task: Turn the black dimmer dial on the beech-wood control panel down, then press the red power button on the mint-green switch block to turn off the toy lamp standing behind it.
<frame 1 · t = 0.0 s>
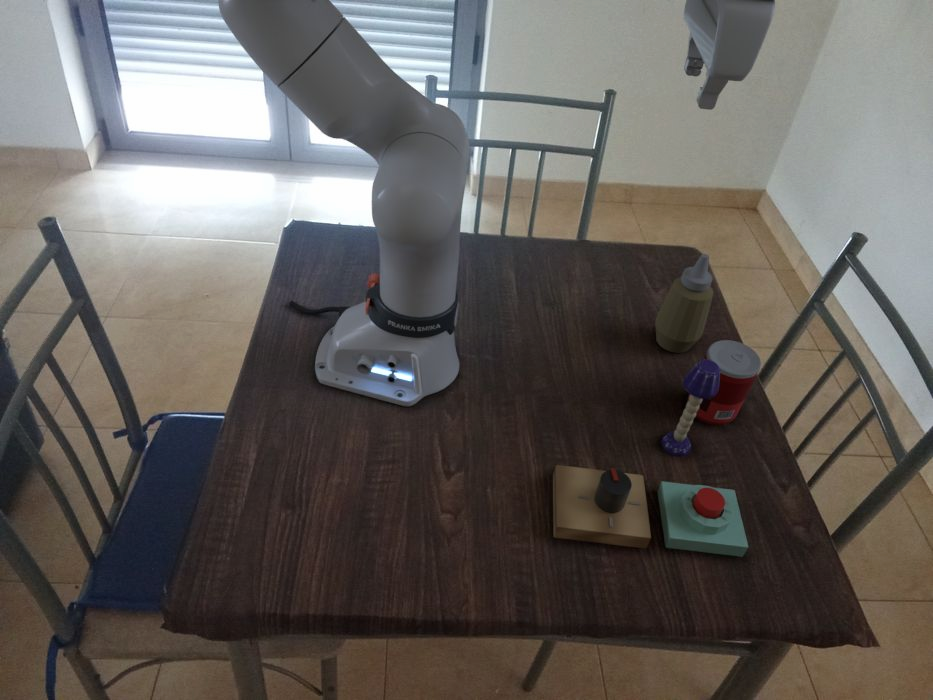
hand: (697, 89, 81), 48 cm above the table, tool pointing down, fingers open, 8 cm apart
dimmer knob: (613, 490, 92), point 5 cm above the table, hinge at 100.0°
squeeze bottle: (672, 343, 122), on the table
power button: (708, 502, 92), point 5 cm above the table, slide at 0.2 cm
canned food: (710, 409, 111), on the table
switch block: (698, 523, 95), on the table
dimmer panel: (597, 511, 95), on the table
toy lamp: (673, 447, 105), on the table
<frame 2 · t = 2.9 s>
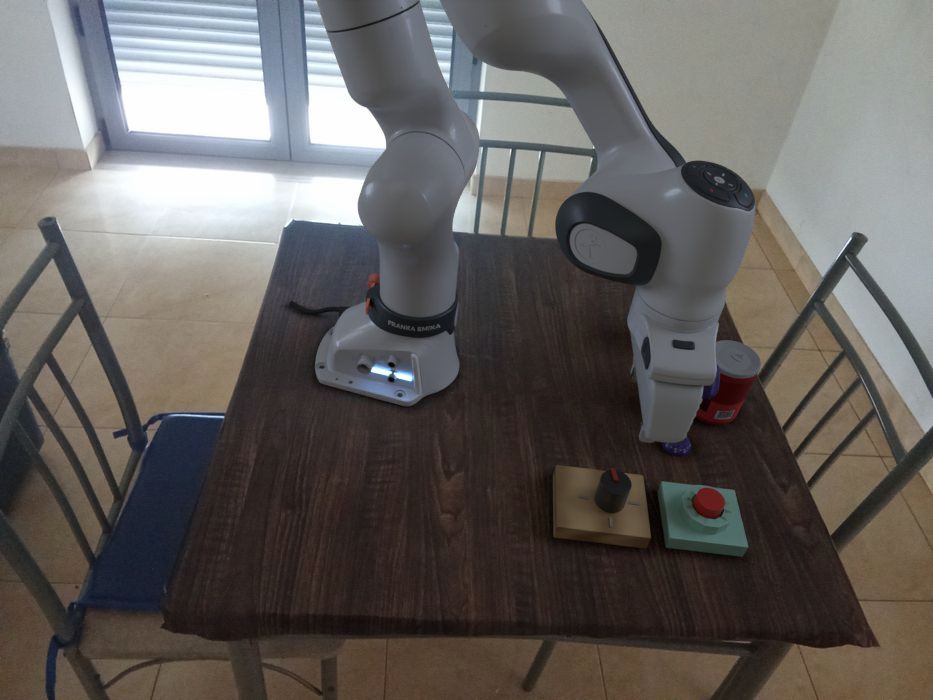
hand: (641, 407, 83), 19 cm above the table, tool pointing down, fingers open, 8 cm apart
nothing on the table moved.
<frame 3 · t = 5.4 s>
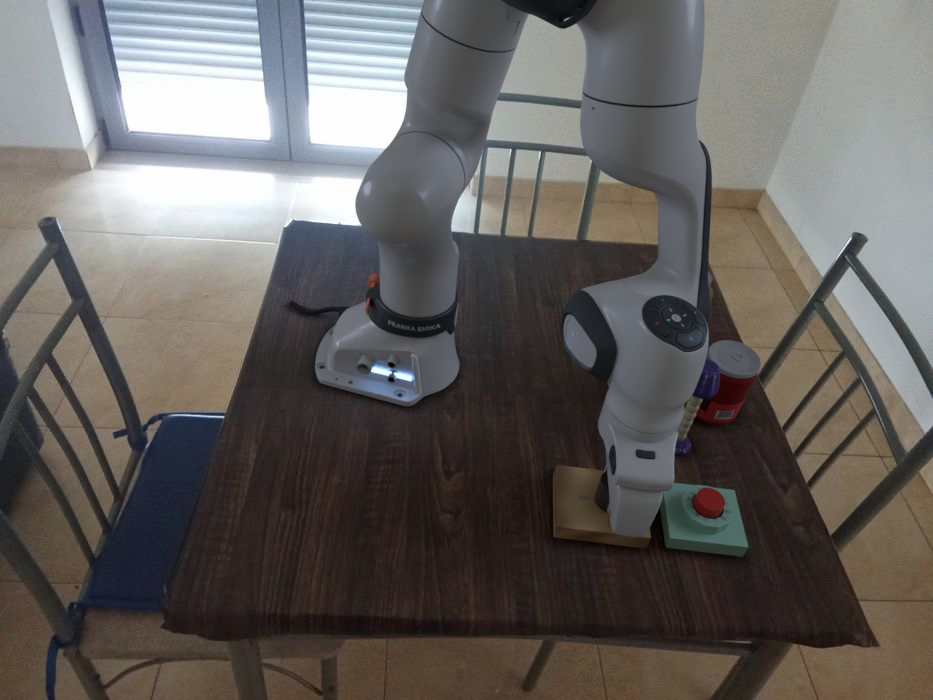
hand: (612, 493, 92), 4 cm above the table, tool pointing down, fingers closed on dimmer knob, 4 cm apart
dimmer knob: (613, 490, 92), point 5 cm above the table, hinge at 99.8°, touching gripper
everything else where it was.
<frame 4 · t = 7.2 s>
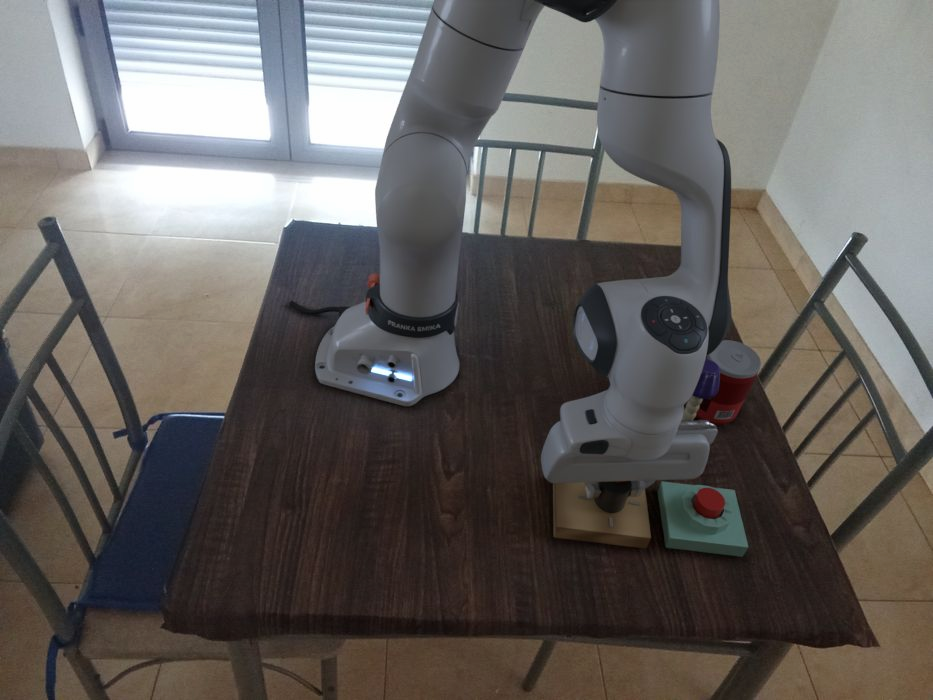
hand: (611, 493, 92), 4 cm above the table, tool pointing down, fingers closed on dimmer knob, 4 cm apart
dimmer knob: (613, 490, 92), point 5 cm above the table, hinge at 22.9°, touching gripper
everything else where it was.
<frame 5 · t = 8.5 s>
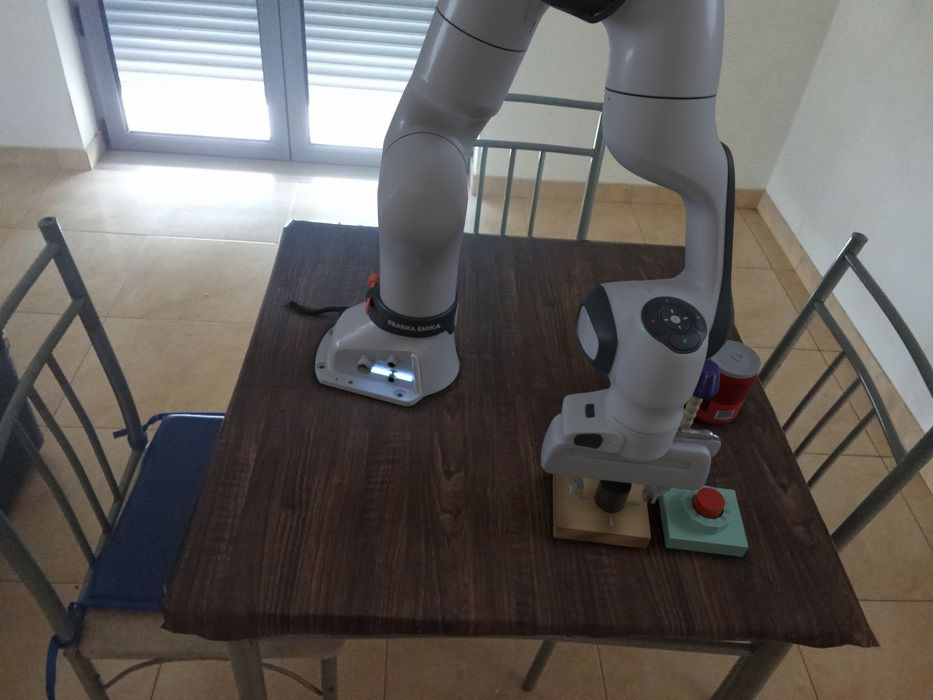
hand: (611, 494, 92), 4 cm above the table, tool pointing down, fingers open, 8 cm apart
dimmer knob: (613, 490, 92), point 5 cm above the table, hinge at 10.9°
everything else where it was.
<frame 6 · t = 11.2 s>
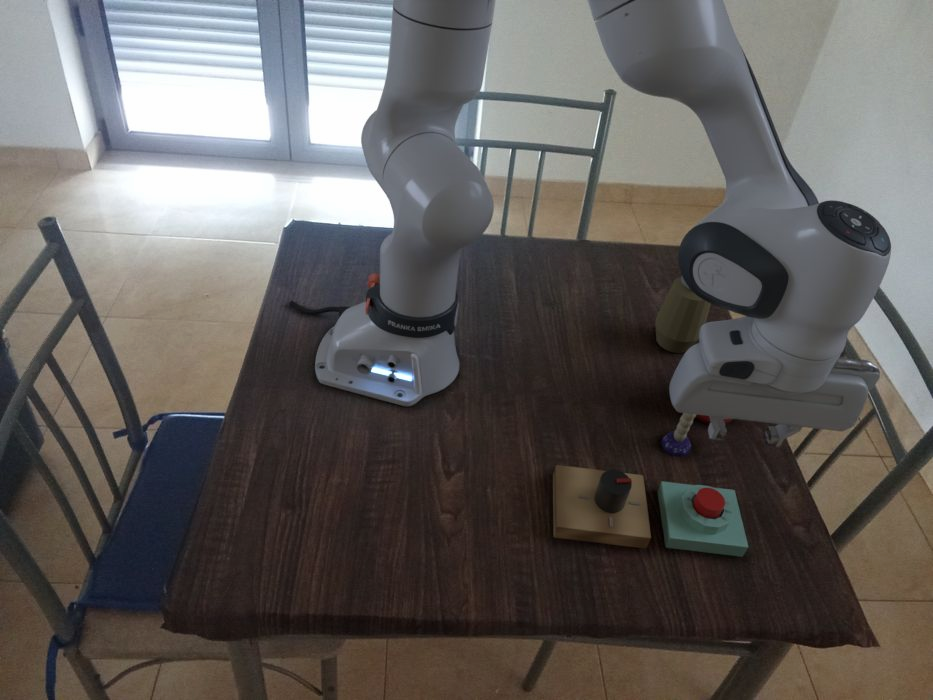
hand: (742, 439, 83), 17 cm above the table, tool pointing down, fingers open, 5 cm apart
nothing on the table moved.
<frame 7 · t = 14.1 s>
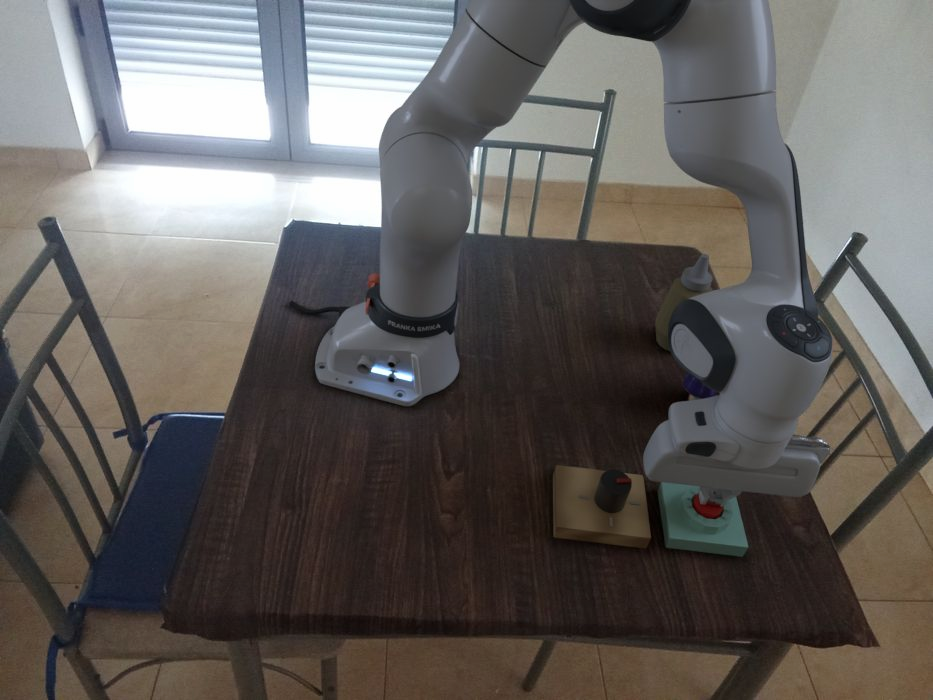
hand: (710, 501, 92), 5 cm above the table, tool pointing down, fingers closed, pressing on power button
power button: (706, 506, 92), point 4 cm above the table, slide at -0.7 cm, touching gripper
everything else where it was.
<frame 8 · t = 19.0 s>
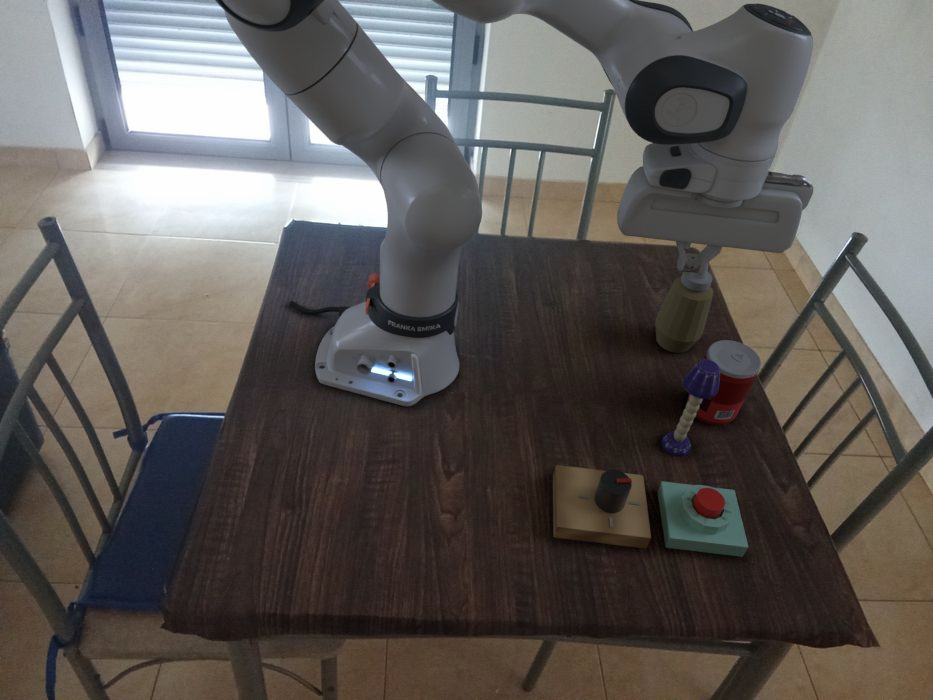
hand: (688, 269, 87), 29 cm above the table, tool pointing down, fingers closed
power button: (708, 502, 92), point 5 cm above the table, slide at 0.2 cm
everything else where it was.
at the end: dimmer knob at +11° (first picture: +100°); power button pushed in 1.0 cm at the most during the clip, back to 0.2 cm at the end; power button slide at 0.2 cm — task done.
